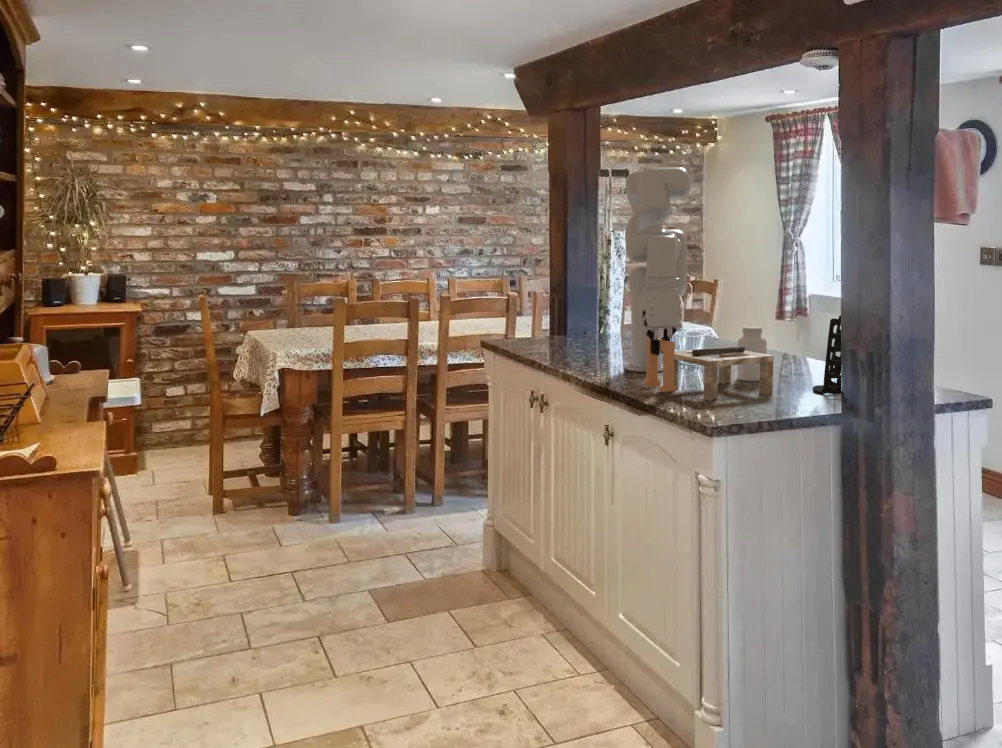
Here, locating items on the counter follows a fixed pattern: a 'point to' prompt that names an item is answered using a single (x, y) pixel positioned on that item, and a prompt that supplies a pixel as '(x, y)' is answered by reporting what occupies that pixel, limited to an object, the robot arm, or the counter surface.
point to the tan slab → (667, 366)
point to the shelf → (725, 366)
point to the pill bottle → (754, 344)
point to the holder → (832, 361)
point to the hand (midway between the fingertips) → (660, 353)
